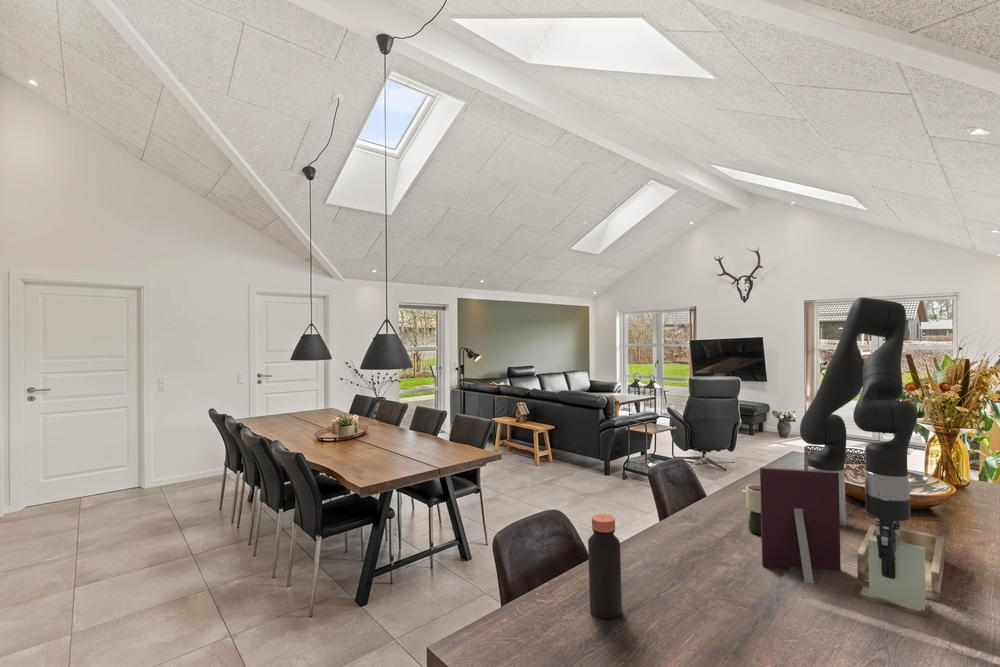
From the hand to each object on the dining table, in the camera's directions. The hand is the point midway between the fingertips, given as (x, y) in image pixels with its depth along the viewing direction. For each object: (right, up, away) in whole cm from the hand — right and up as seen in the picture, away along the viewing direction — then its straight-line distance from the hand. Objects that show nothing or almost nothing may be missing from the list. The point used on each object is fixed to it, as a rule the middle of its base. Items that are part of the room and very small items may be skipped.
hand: (889, 573), depth 102 cm
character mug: (-6, -7, +39) cm, 40 cm away
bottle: (-61, -9, +1) cm, 61 cm away
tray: (+13, -7, +12) cm, 19 cm away
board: (0, -7, 0) cm, 7 cm away
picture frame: (-10, -7, +12) cm, 18 cm away
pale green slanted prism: (+1, -5, -1) cm, 5 cm away
